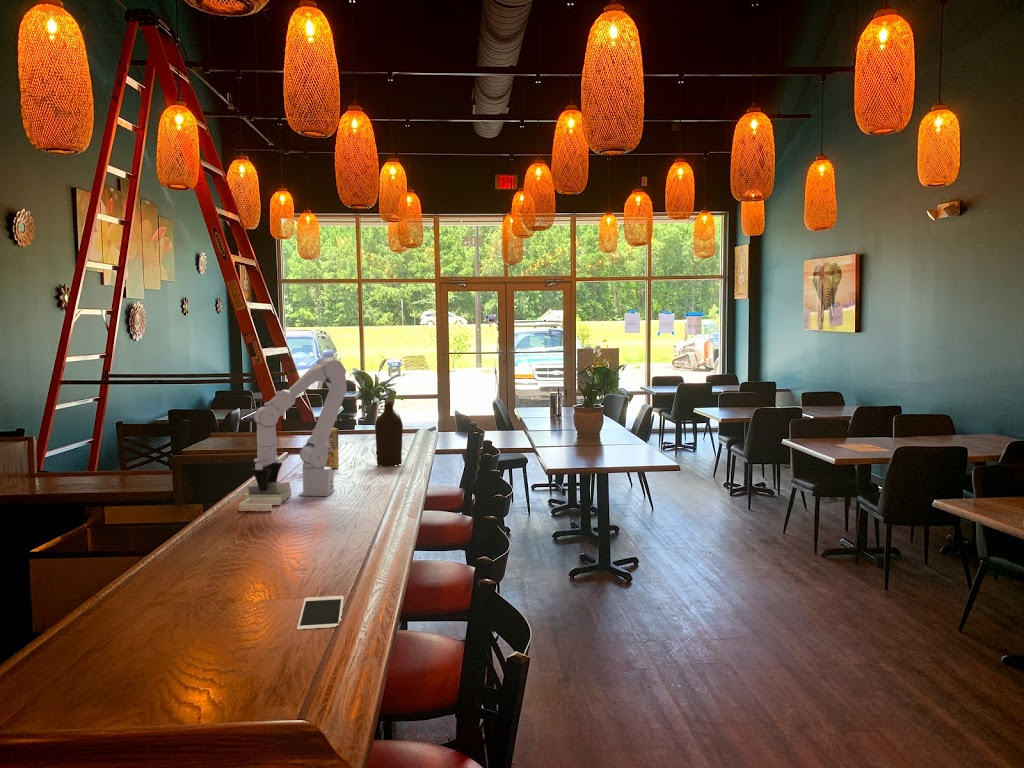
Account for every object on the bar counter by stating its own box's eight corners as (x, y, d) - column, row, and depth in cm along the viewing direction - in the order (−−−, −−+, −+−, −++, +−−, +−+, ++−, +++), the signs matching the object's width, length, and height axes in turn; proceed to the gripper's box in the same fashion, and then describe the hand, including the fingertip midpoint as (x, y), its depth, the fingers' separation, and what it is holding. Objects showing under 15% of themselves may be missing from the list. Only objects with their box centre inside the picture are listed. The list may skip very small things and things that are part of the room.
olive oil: (407, 463, 301) (407, 400, 299) (394, 468, 291) (394, 402, 289) (384, 461, 305) (383, 399, 303) (370, 466, 295) (369, 401, 293)
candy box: (334, 466, 294) (333, 427, 292) (339, 468, 290) (338, 428, 289) (312, 469, 288) (311, 429, 287) (317, 471, 285) (316, 430, 283)
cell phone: (344, 598, 157) (344, 595, 157) (340, 629, 142) (340, 626, 142) (304, 600, 156) (304, 597, 156) (296, 632, 140) (296, 629, 140)
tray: (291, 496, 245) (290, 488, 244) (281, 503, 236) (281, 495, 236) (255, 496, 245) (254, 488, 245) (244, 502, 237) (244, 494, 236)
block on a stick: (292, 492, 243) (291, 480, 242) (287, 496, 238) (285, 483, 237) (256, 495, 243) (254, 483, 243) (249, 499, 238) (248, 487, 238)
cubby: (280, 505, 233) (280, 498, 233) (271, 512, 225) (270, 504, 225) (249, 504, 234) (249, 497, 234) (238, 511, 226) (238, 504, 226)
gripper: (262, 441, 246) (263, 483, 248) (244, 449, 232) (246, 493, 233) (284, 441, 246) (285, 483, 247) (267, 449, 232) (269, 493, 233)
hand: (267, 488), depth 240 cm, fingers open, 7 cm apart
